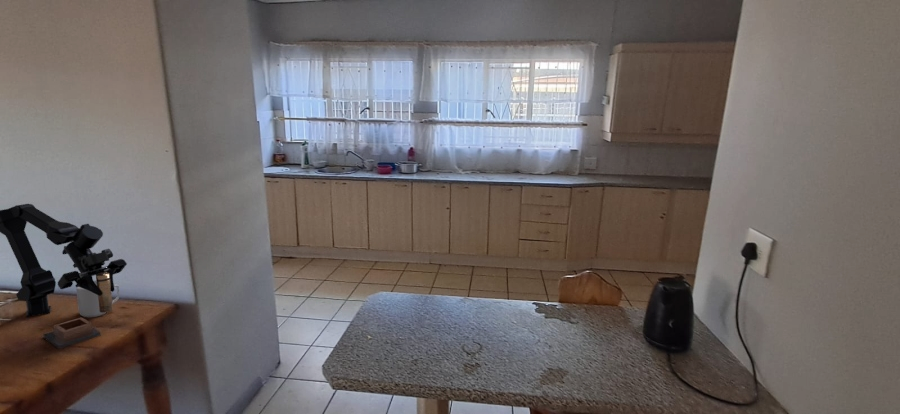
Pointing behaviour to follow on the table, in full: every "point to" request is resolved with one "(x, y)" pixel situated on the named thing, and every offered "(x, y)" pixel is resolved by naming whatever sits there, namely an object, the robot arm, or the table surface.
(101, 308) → the gold metallic cylinder
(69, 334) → the frame
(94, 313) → the mug
